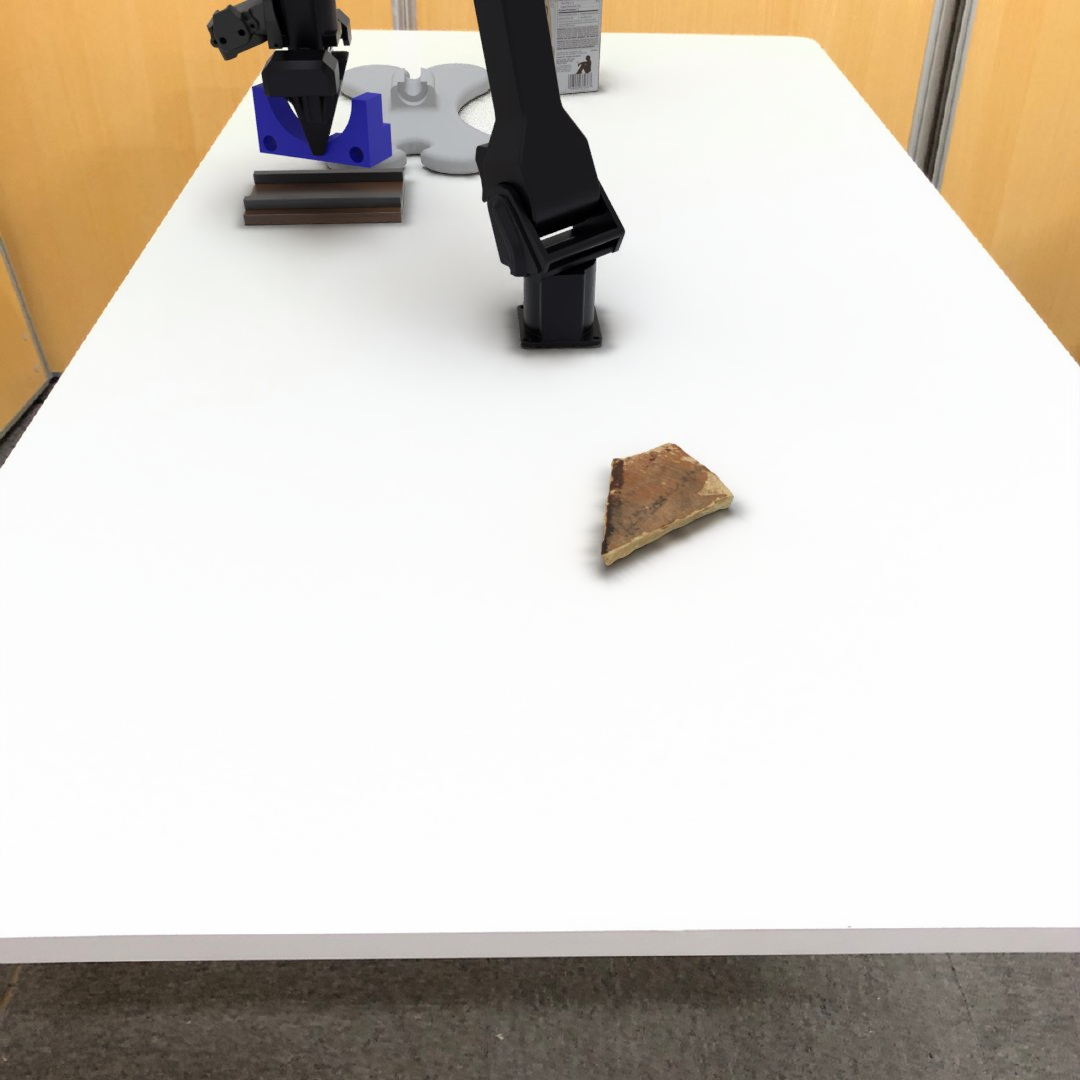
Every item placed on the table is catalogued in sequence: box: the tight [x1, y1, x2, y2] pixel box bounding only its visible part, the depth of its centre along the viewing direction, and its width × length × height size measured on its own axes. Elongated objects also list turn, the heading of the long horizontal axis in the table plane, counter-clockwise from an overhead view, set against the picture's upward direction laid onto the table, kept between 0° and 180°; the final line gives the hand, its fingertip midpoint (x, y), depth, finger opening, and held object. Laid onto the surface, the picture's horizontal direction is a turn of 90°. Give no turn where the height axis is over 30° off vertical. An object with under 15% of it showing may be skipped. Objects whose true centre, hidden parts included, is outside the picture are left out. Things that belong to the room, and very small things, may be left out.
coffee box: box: [545, 0, 604, 95], centre depth 131 cm, size 9×6×16 cm
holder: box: [325, 62, 491, 175], centre depth 123 cm, size 19×34×5 cm, turn 5°
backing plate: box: [242, 167, 406, 226], centre depth 105 cm, size 10×15×2 cm, turn 94°
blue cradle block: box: [251, 82, 392, 168], centre depth 101 cm, size 12×4×6 cm, turn 70°
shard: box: [600, 442, 735, 566], centre depth 68 cm, size 11×8×2 cm
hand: (321, 145), depth 102 cm, fingers closed on blue cradle block, 5 cm apart
